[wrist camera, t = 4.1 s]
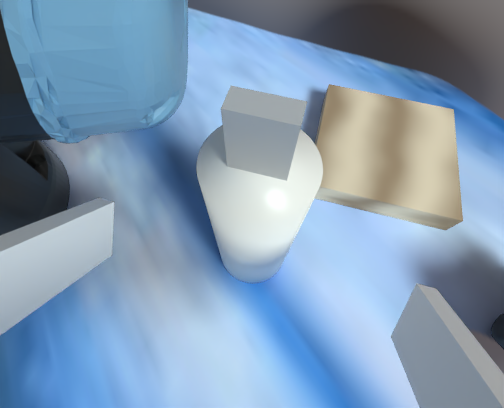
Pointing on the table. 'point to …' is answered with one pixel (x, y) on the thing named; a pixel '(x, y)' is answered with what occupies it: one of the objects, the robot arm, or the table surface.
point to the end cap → (499, 330)
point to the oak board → (389, 157)
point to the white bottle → (258, 181)
